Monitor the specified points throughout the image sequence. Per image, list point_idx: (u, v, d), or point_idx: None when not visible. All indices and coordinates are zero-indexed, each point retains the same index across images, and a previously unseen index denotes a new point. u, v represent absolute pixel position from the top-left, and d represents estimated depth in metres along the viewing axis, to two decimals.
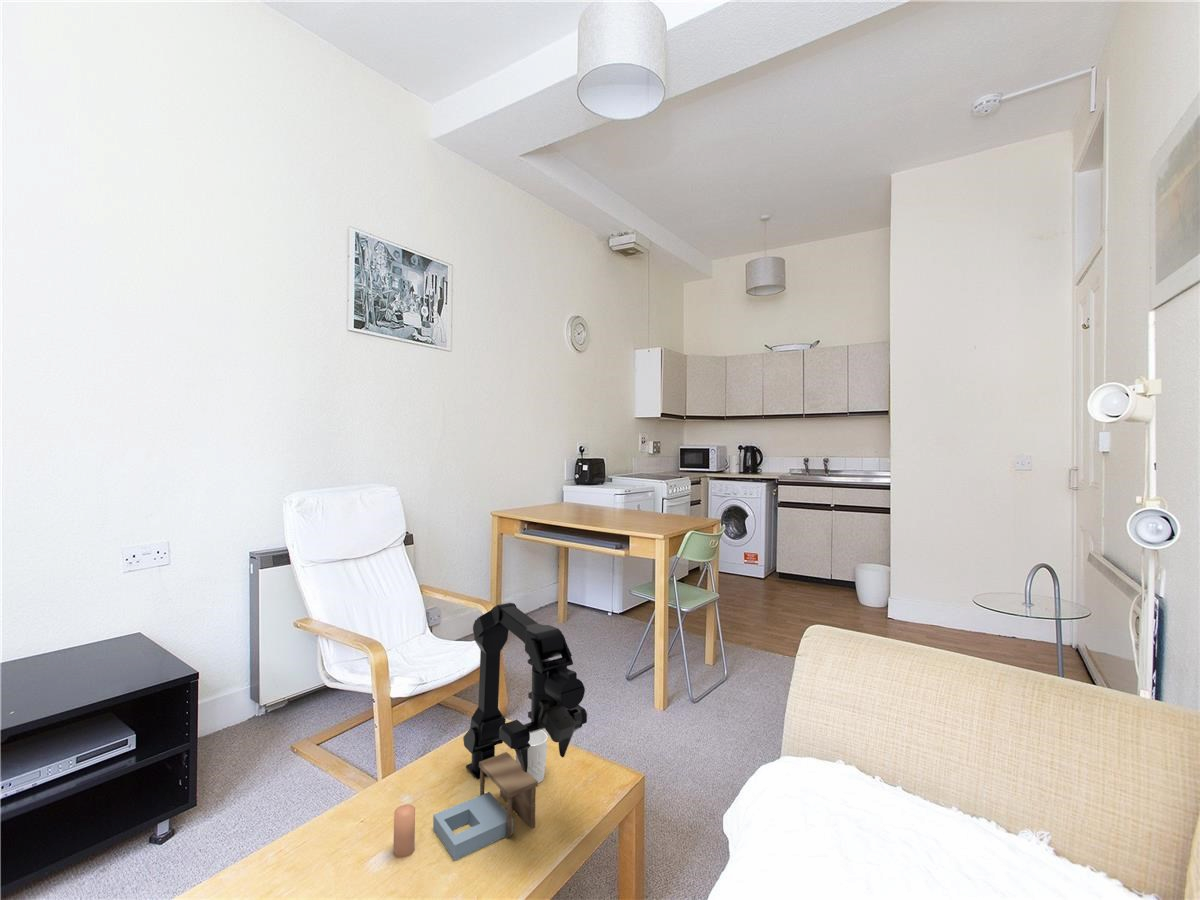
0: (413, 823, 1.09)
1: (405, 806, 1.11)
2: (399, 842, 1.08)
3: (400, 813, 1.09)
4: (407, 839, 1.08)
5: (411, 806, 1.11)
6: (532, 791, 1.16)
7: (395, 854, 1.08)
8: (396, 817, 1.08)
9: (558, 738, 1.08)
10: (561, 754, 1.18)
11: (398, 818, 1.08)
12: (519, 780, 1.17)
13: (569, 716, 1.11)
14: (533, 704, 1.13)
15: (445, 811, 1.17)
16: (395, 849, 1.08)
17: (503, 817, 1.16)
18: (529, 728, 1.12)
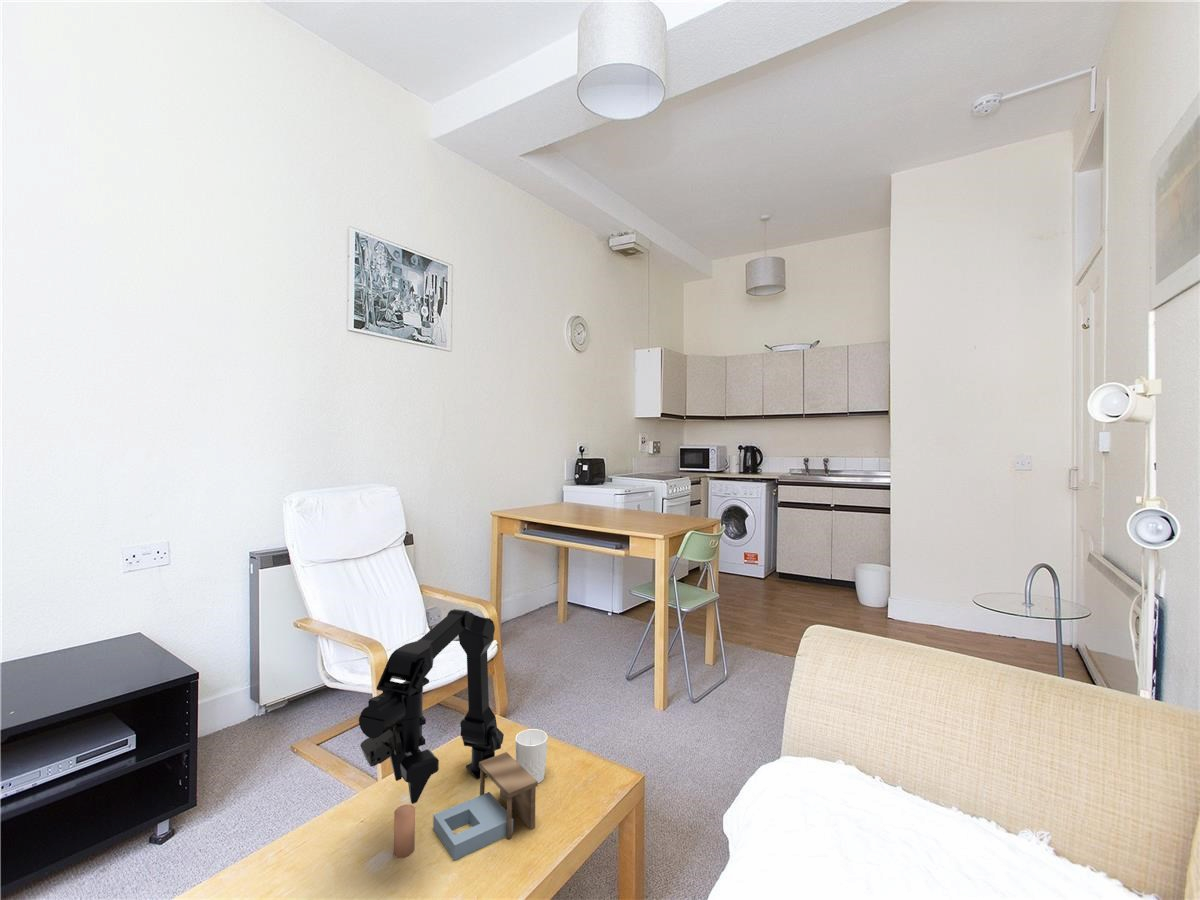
0: (413, 823, 1.09)
1: (405, 806, 1.11)
2: (399, 842, 1.07)
3: (400, 813, 1.09)
4: (407, 839, 1.08)
5: (411, 806, 1.11)
6: (532, 791, 1.16)
7: (395, 854, 1.08)
8: (396, 817, 1.08)
9: None
10: None
11: (398, 818, 1.08)
12: (519, 780, 1.17)
13: (377, 745, 1.04)
14: None
15: (445, 811, 1.17)
16: (395, 849, 1.08)
17: (503, 817, 1.16)
18: None
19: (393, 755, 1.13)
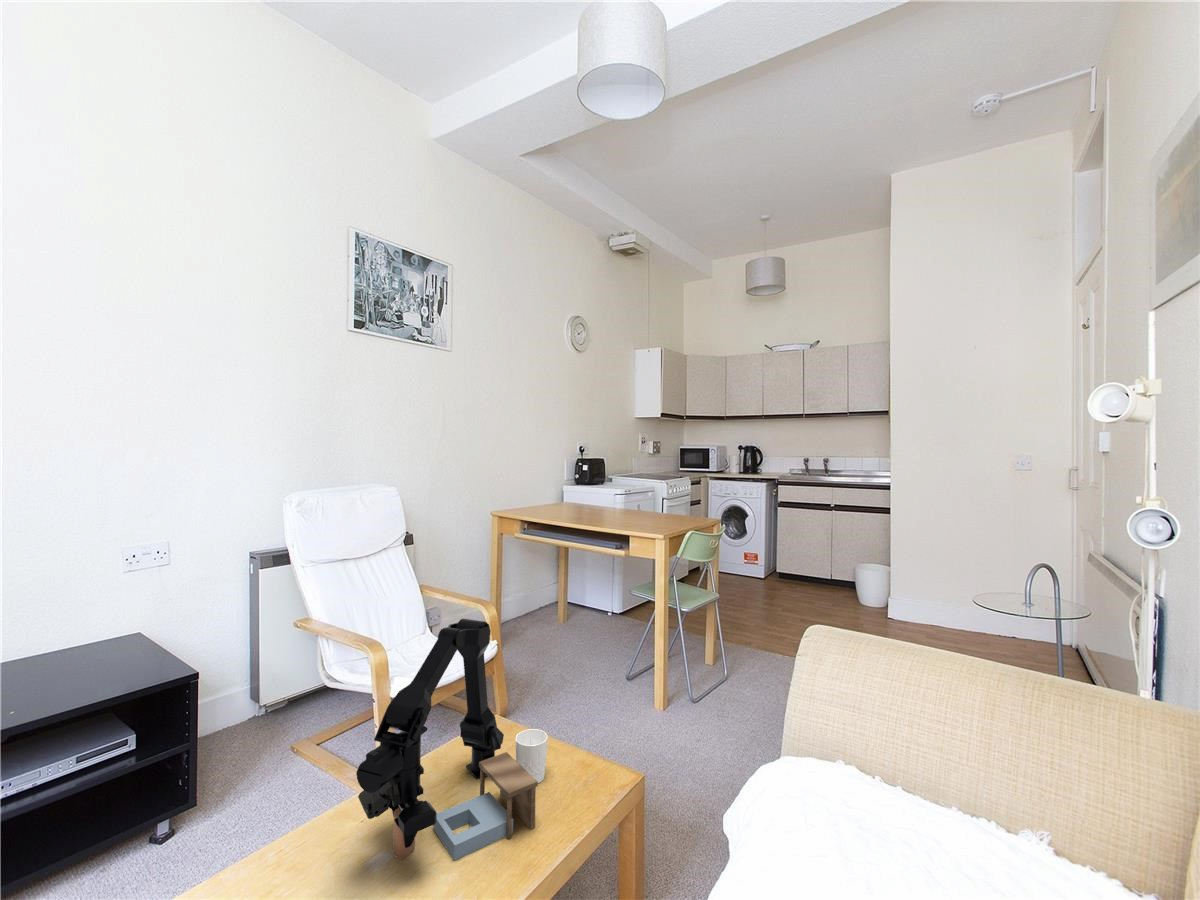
0: None
1: None
2: (399, 842, 1.07)
3: None
4: None
5: None
6: (532, 791, 1.16)
7: (395, 854, 1.08)
8: (396, 817, 1.08)
9: None
10: None
11: None
12: (519, 780, 1.17)
13: (375, 797, 1.04)
14: None
15: (445, 811, 1.17)
16: (395, 849, 1.08)
17: (503, 817, 1.16)
18: None
19: (395, 809, 1.11)
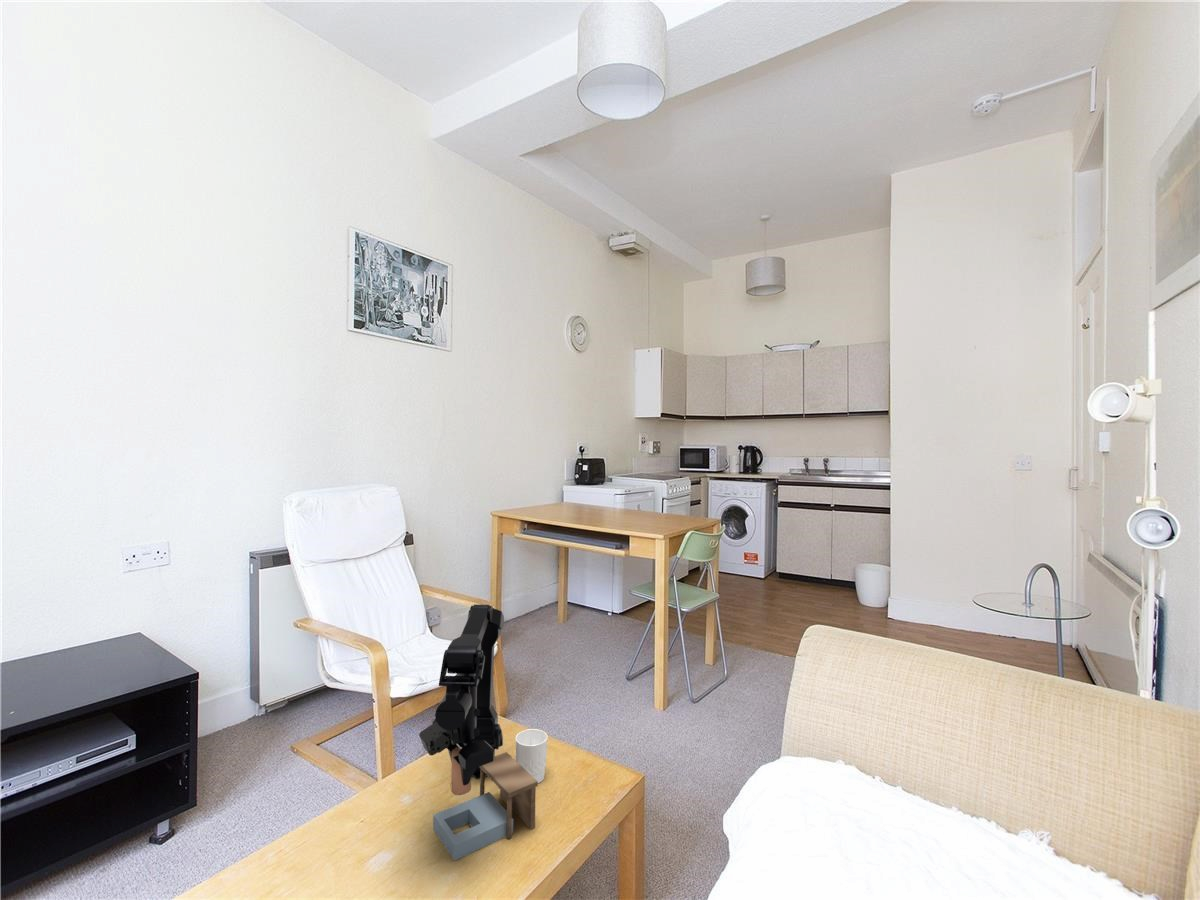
0: None
1: None
2: (457, 780, 1.12)
3: (457, 753, 1.13)
4: None
5: None
6: (532, 791, 1.16)
7: (453, 792, 1.12)
8: (454, 756, 1.12)
9: (422, 743, 1.10)
10: None
11: None
12: (519, 780, 1.17)
13: (436, 735, 1.08)
14: None
15: (445, 811, 1.17)
16: (453, 787, 1.12)
17: (503, 817, 1.16)
18: None
19: None
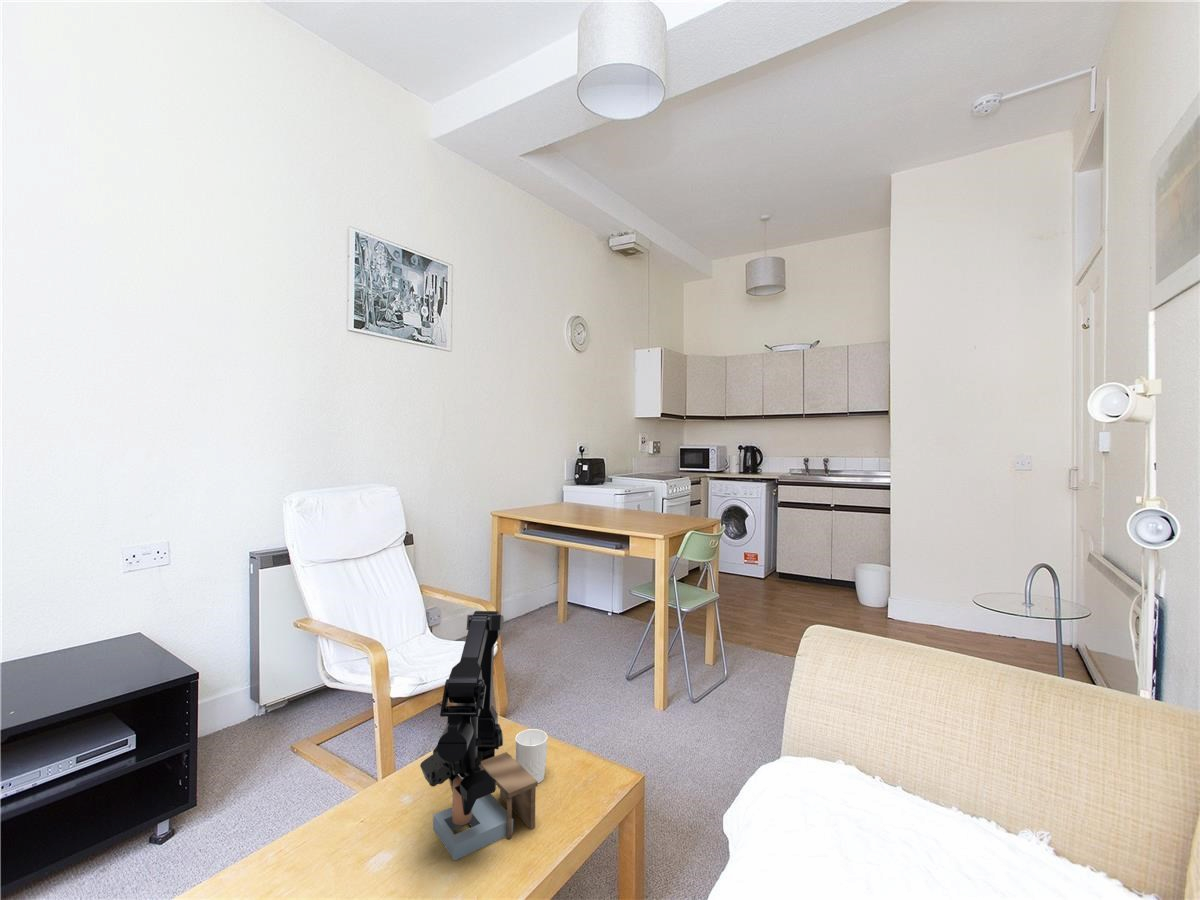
0: None
1: None
2: (458, 810, 1.12)
3: (459, 782, 1.13)
4: None
5: None
6: (532, 791, 1.16)
7: (454, 821, 1.12)
8: (455, 786, 1.12)
9: None
10: None
11: None
12: (519, 780, 1.17)
13: (437, 766, 1.08)
14: None
15: (445, 811, 1.17)
16: (454, 817, 1.12)
17: (503, 817, 1.16)
18: None
19: (453, 779, 1.15)
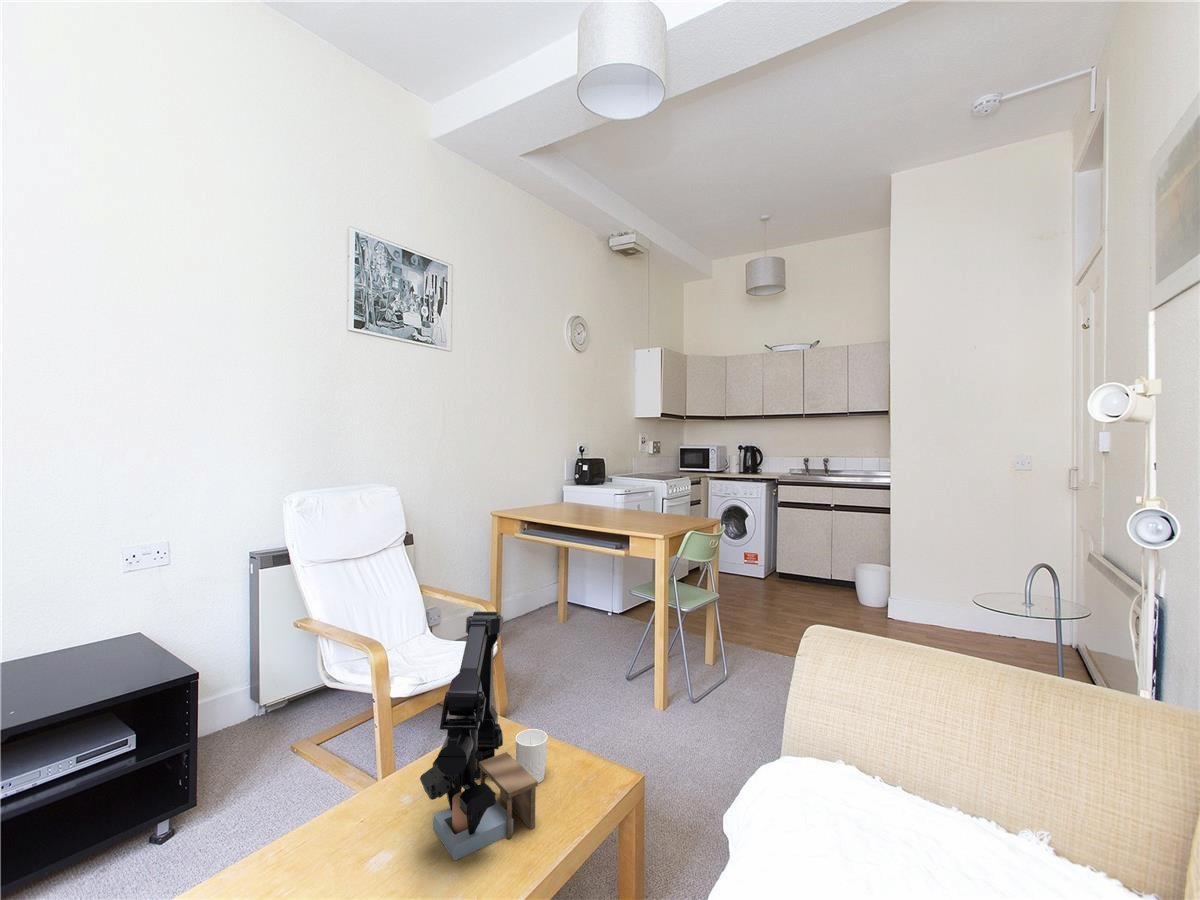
0: None
1: None
2: (458, 828, 1.12)
3: (458, 800, 1.13)
4: (466, 825, 1.12)
5: None
6: (532, 791, 1.16)
7: None
8: (455, 803, 1.12)
9: (423, 787, 1.10)
10: None
11: (457, 805, 1.12)
12: (519, 780, 1.17)
13: (437, 779, 1.08)
14: None
15: (445, 811, 1.17)
16: None
17: (503, 817, 1.16)
18: None
19: None
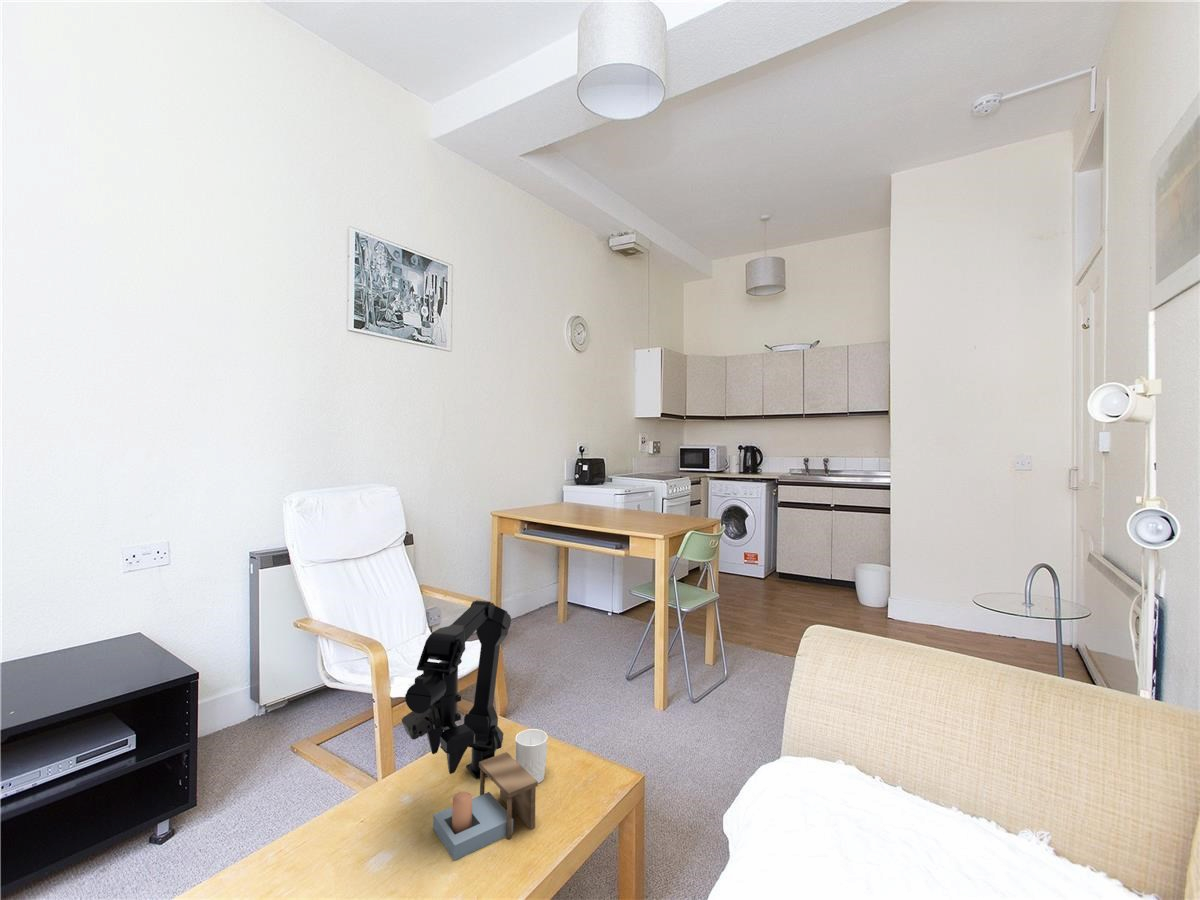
0: (471, 809, 1.14)
1: (462, 793, 1.15)
2: (458, 828, 1.12)
3: (458, 800, 1.13)
4: (466, 825, 1.12)
5: (468, 793, 1.15)
6: (532, 791, 1.16)
7: None
8: (455, 803, 1.12)
9: None
10: None
11: (457, 805, 1.12)
12: (519, 780, 1.17)
13: (418, 720, 1.12)
14: None
15: (445, 811, 1.17)
16: None
17: (503, 817, 1.16)
18: None
19: (429, 730, 1.21)
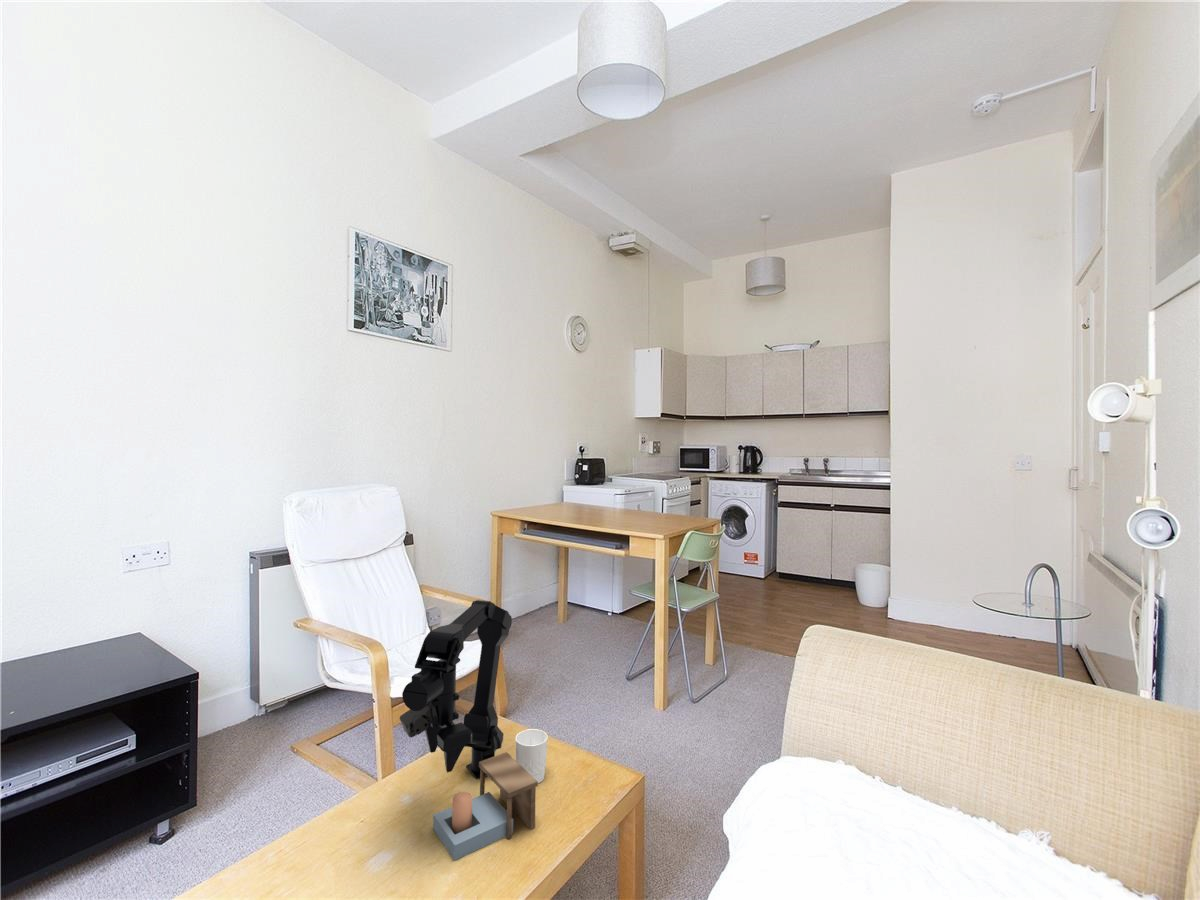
0: (470, 809, 1.13)
1: (462, 793, 1.15)
2: (458, 828, 1.12)
3: (458, 800, 1.13)
4: (466, 825, 1.12)
5: (468, 793, 1.15)
6: (532, 791, 1.16)
7: None
8: (455, 803, 1.12)
9: None
10: None
11: (457, 805, 1.12)
12: (519, 780, 1.17)
13: (415, 718, 1.13)
14: None
15: (445, 811, 1.17)
16: None
17: (503, 817, 1.16)
18: None
19: (428, 729, 1.21)
